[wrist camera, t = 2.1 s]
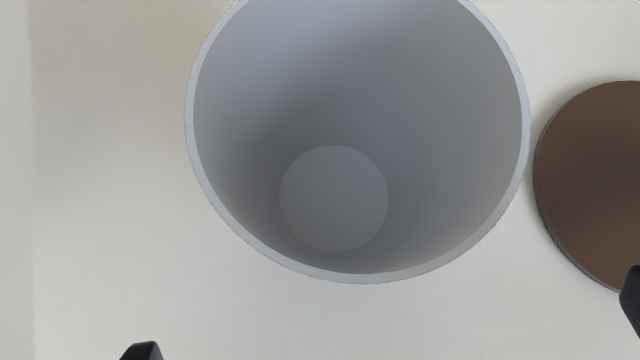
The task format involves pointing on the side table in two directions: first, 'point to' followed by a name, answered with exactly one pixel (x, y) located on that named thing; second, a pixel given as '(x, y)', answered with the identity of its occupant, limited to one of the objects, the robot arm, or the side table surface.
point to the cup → (357, 132)
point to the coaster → (593, 180)
